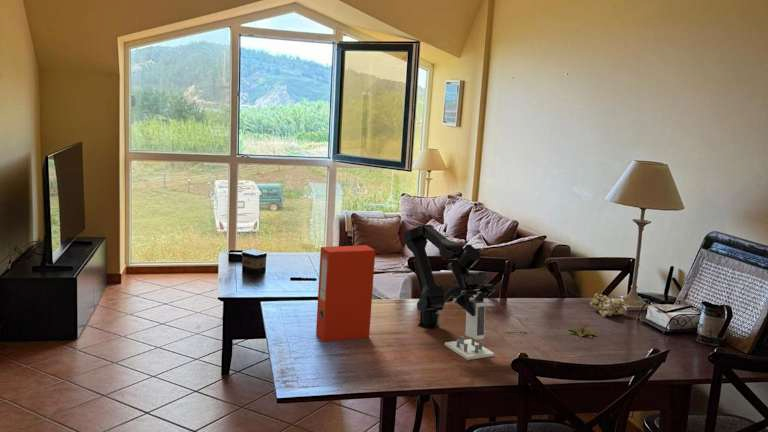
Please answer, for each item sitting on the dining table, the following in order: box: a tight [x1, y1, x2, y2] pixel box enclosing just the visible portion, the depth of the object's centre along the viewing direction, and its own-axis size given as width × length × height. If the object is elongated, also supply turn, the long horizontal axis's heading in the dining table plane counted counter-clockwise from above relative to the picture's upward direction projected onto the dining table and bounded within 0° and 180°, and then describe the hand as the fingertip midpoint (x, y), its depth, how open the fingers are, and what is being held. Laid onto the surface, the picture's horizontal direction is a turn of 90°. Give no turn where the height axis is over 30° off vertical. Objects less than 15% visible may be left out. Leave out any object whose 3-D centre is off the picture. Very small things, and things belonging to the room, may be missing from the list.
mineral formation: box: [589, 293, 628, 318], centre depth 286 cm, size 8×13×15 cm
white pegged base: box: [444, 335, 495, 361], centre depth 231 cm, size 14×11×4 cm
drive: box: [465, 298, 486, 340], centre depth 229 cm, size 6×4×12 cm, turn 30°
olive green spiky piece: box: [568, 321, 598, 339], centre depth 258 cm, size 12×12×5 cm
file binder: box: [315, 244, 376, 343], centre depth 234 cm, size 8×17×32 cm, turn 116°
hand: (478, 315), depth 228 cm, fingers closed on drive, 3 cm apart
